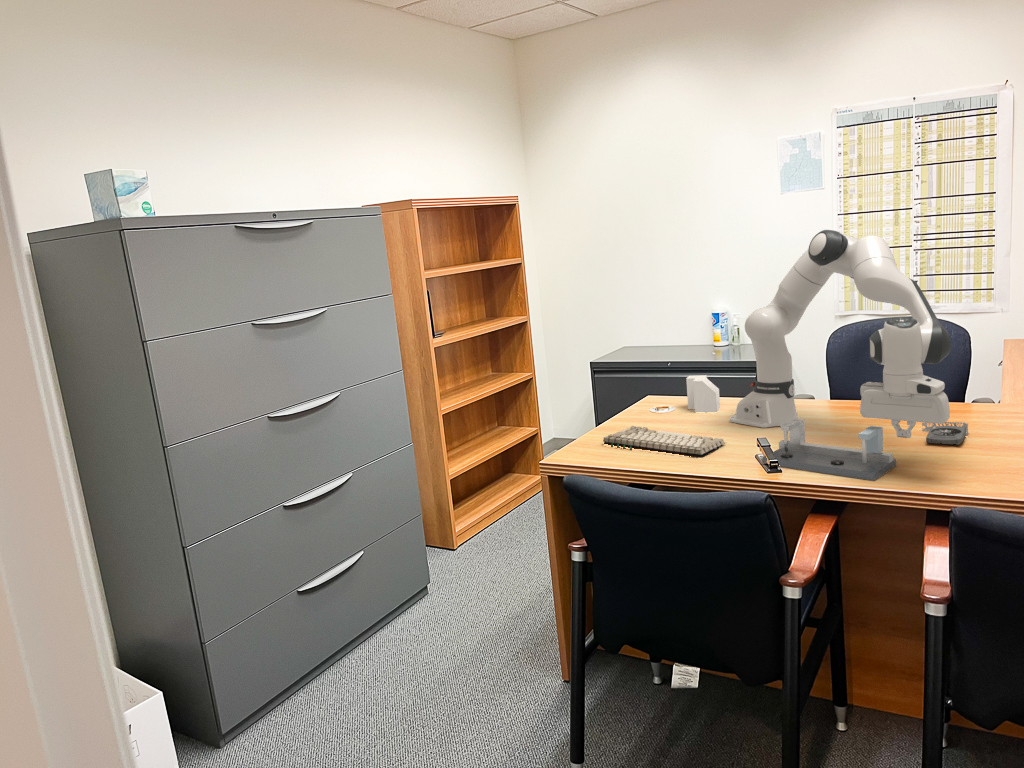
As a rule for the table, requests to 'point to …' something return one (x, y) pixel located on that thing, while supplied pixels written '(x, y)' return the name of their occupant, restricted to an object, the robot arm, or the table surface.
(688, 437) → the mechanical keyboard
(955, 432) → the graphics card
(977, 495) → the table surface
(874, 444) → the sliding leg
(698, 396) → the grey chamfered block
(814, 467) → the grey fixture base
